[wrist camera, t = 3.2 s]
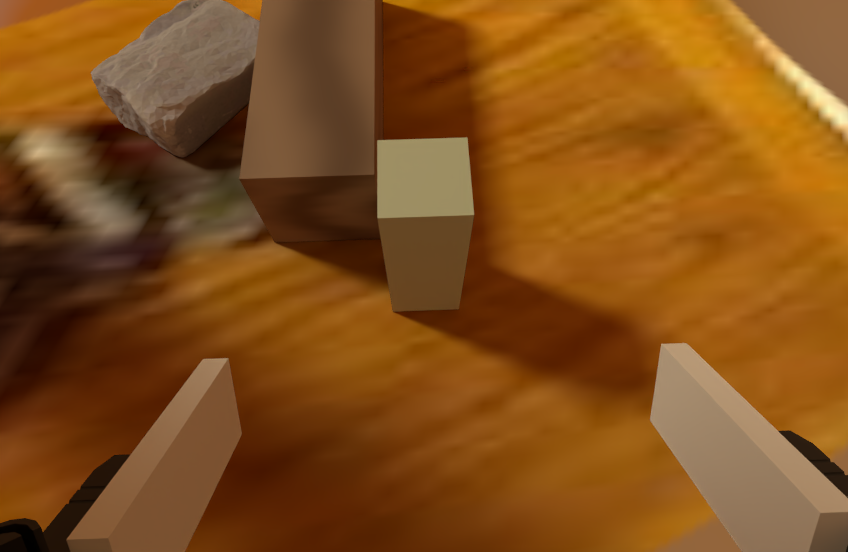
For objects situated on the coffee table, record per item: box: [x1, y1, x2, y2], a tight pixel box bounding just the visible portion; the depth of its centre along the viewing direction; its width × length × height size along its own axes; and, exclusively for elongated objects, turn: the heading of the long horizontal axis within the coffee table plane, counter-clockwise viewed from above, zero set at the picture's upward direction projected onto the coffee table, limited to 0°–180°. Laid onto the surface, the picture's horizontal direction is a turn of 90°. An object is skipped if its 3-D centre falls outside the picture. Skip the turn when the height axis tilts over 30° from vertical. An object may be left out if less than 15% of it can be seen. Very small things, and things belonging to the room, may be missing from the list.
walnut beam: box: [239, 0, 383, 242], centre depth 35 cm, size 7×22×7 cm, turn 2°
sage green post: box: [377, 137, 474, 312], centre depth 27 cm, size 4×4×11 cm
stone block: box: [91, 0, 260, 158], centre depth 38 cm, size 12×5×10 cm
